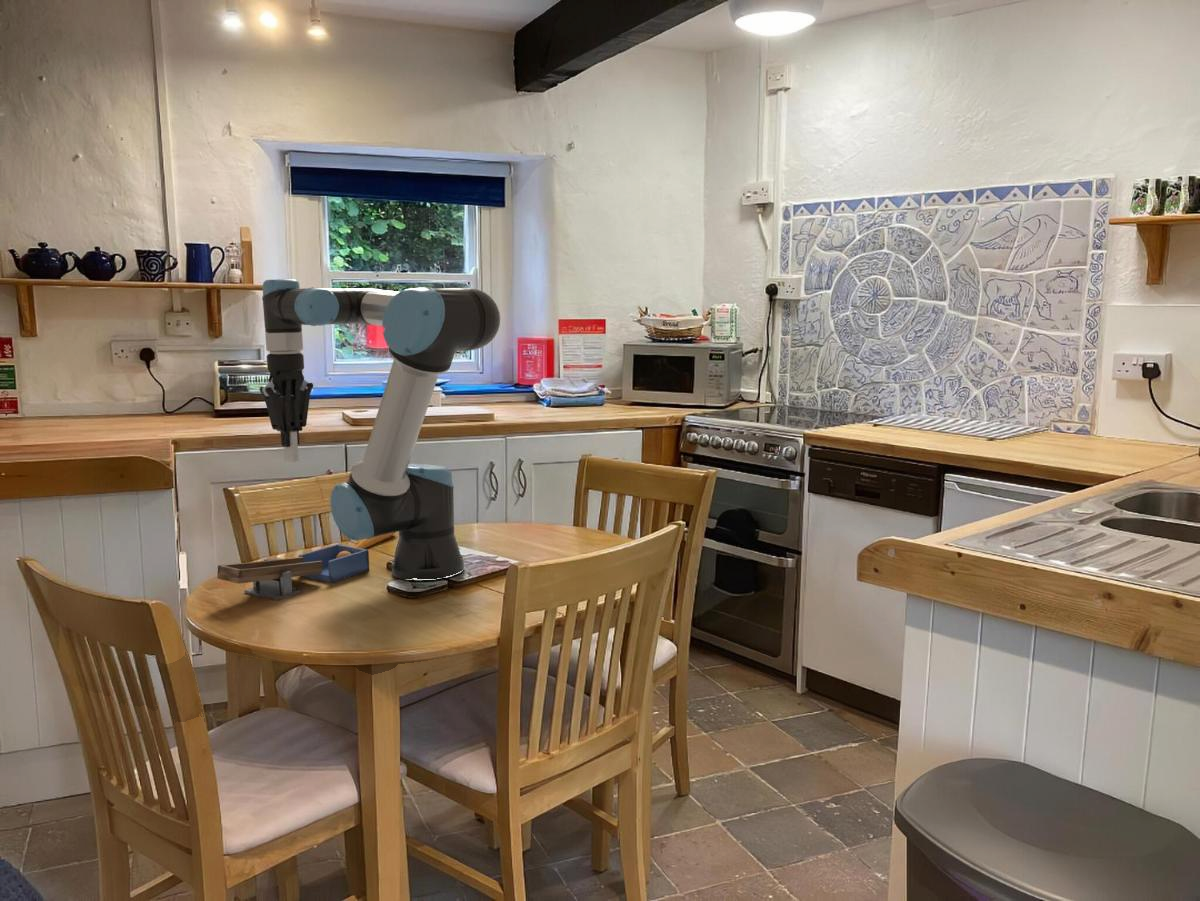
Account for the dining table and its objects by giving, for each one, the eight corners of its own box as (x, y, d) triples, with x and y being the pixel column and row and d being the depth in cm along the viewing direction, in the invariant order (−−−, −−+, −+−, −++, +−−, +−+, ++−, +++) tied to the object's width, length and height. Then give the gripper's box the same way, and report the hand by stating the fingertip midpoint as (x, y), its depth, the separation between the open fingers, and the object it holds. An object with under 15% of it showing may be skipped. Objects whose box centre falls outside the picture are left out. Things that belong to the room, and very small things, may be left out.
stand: (301, 592, 188) (299, 569, 187) (276, 600, 183) (274, 576, 182) (269, 585, 193) (268, 562, 192) (244, 592, 188) (242, 569, 187)
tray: (369, 570, 203) (368, 549, 203) (331, 582, 194) (330, 561, 194) (338, 563, 208) (337, 544, 208) (299, 575, 200) (298, 555, 199)
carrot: (387, 537, 235) (379, 521, 234) (402, 531, 233) (394, 515, 233) (344, 566, 216) (336, 549, 216) (360, 560, 215) (351, 543, 214)
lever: (321, 573, 194) (322, 561, 194) (238, 583, 177) (239, 570, 177) (278, 563, 202) (278, 552, 201) (194, 572, 185) (194, 560, 185)
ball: (344, 553, 201) (344, 569, 201) (356, 550, 204) (356, 566, 204) (332, 551, 203) (332, 567, 203) (345, 548, 206) (345, 564, 206)
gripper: (296, 350, 210) (302, 455, 214) (248, 353, 199) (255, 464, 203) (320, 351, 206) (326, 457, 210) (272, 354, 195) (280, 467, 199)
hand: (291, 460), depth 206 cm, fingers closed
